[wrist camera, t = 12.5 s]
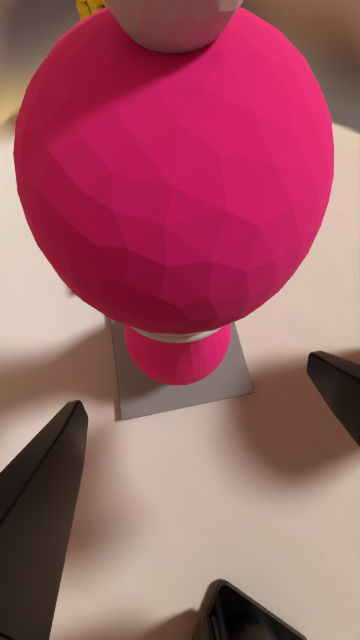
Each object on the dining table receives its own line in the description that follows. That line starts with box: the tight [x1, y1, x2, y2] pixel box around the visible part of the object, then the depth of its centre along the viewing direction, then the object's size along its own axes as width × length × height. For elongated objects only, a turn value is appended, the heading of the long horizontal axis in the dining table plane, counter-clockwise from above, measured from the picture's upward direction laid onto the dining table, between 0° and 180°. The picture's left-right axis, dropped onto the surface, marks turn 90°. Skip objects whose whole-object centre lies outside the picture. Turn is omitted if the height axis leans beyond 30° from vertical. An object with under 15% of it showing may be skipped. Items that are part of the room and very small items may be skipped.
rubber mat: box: [110, 318, 254, 420], centre depth 21 cm, size 11×11×1 cm
